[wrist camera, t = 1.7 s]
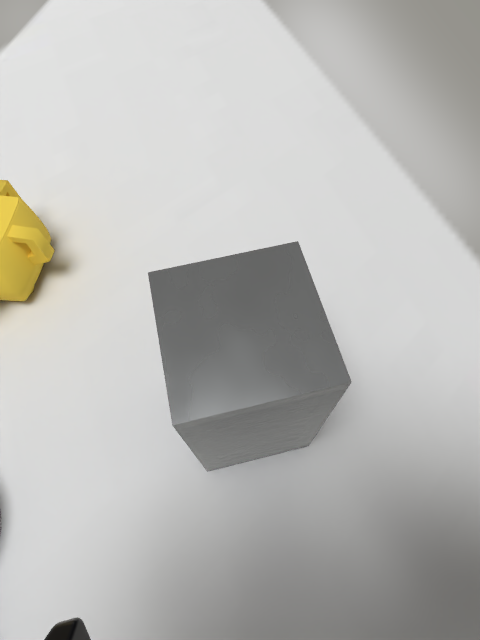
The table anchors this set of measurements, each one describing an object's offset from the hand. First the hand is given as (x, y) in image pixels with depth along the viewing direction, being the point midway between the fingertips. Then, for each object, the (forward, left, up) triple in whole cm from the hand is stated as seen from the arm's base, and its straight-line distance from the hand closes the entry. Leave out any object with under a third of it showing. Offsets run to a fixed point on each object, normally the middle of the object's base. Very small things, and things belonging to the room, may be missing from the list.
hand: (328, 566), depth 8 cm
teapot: (+21, +5, -13) cm, 25 cm away
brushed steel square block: (+6, -2, -12) cm, 14 cm away
